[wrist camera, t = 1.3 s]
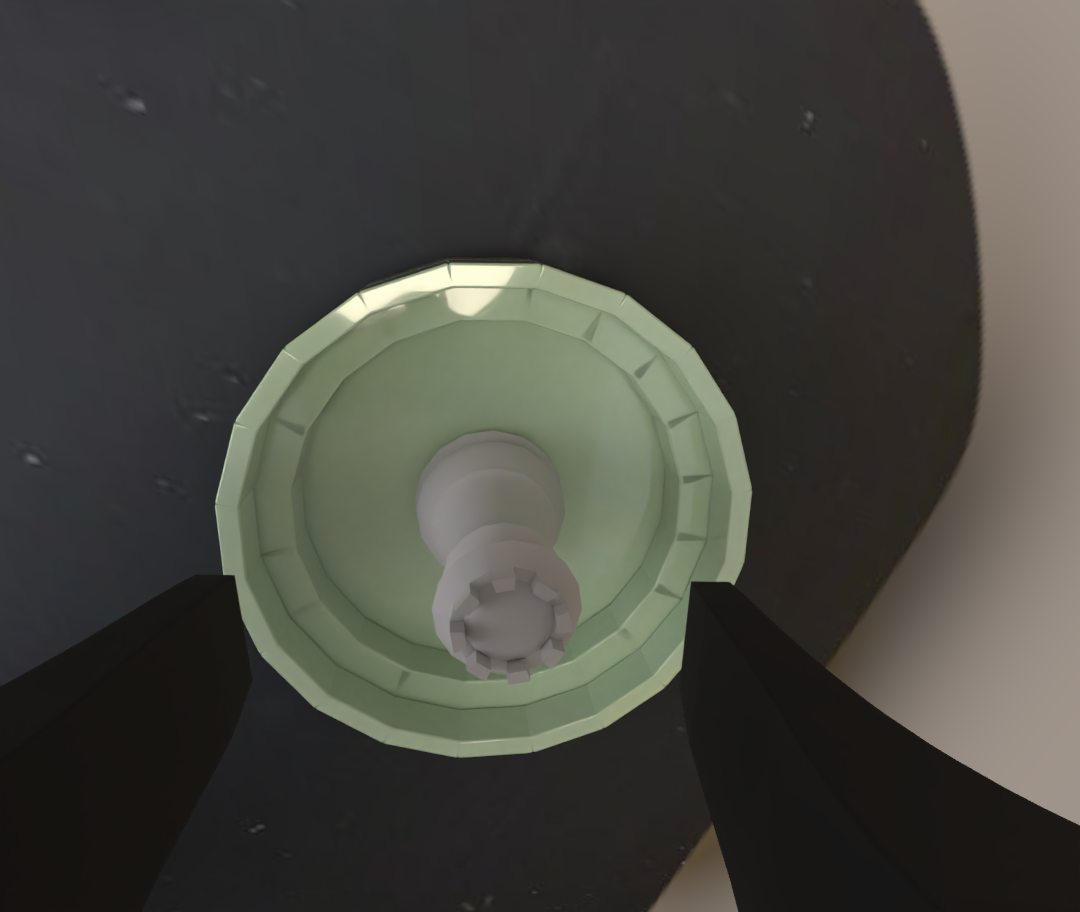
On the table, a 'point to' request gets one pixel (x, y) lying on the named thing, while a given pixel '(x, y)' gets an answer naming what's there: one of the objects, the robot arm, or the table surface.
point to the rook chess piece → (498, 554)
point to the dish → (409, 445)
